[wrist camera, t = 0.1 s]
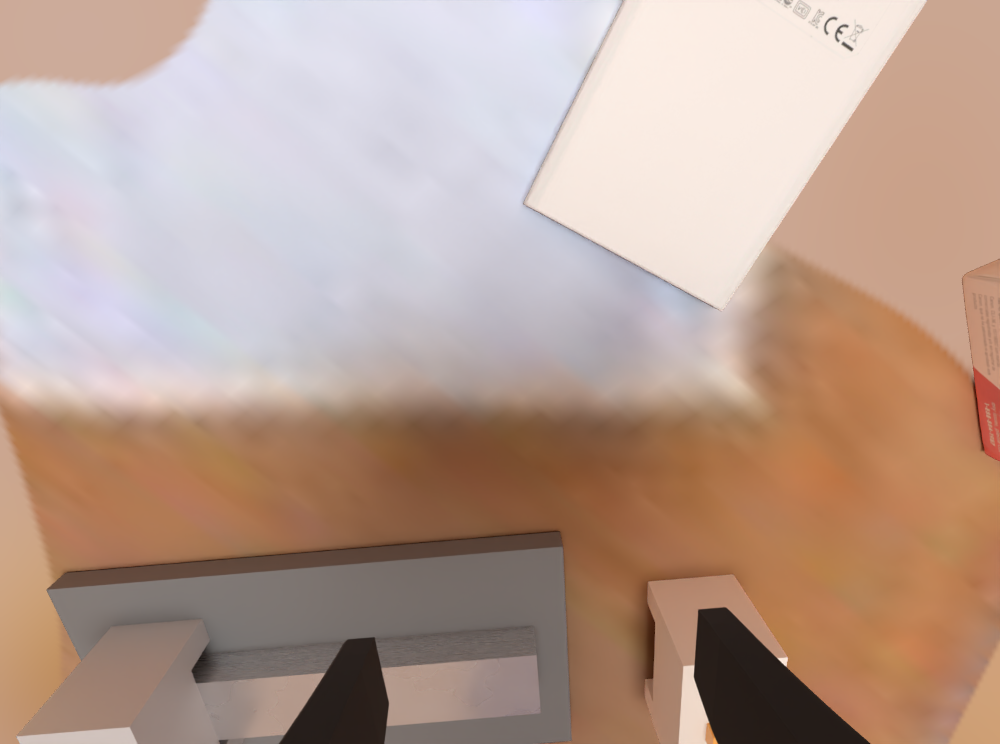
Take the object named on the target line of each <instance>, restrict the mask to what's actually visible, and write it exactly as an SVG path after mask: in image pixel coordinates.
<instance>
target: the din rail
mask: <svg viewBox="0 0 1000 744" xmlns="http://www.w3.org/2000/svg"><path fill="white" fill-rule="evenodd" d="M375 641H376V646H377V650H378V655H379V659H380V664H381V668H382V673H383V678H384V682H385V687H386V691H387V696H388V700H389V709H388V718H387V726H396V725H408V724H420V723H432V722H444V721H456V720H468V719H480V718H492V717H504V716H516V715H528V714H540V713H541V709H540V695H539V681H538V668H537V654H536V645H535V636H534V627H533V626H530V627H518V628H506V629H494V630H482V631H470V632H458V633H446V634H434V635H422V636H410V637H398V638H386V639H375ZM343 644H344V642H339V643H327V644H315V645H303V646H291V647H279V648H267V649H255V650H243V651H231V652H219V653H207V654H201V656H200V657H199V659H198V660H197V662H196V664H195V665H194V667H193V669H192V670H191V671H192V674H193V676H194V679H195V682H196V684H197V687H198V689H199V692H200V694H201V697H202V699H203V702H204V704H205V707H206V709H207V712H208V714H209V717H210V720H211V722H212V725H213V727H214V730H215V732H216V735H217V737H218V740H228V739H240V738H252V737H264V736H276V735H285V734H286V732H287V731H288V729H289V728H290V726H291V725H292V723H293V722H294V721H295V719H296V718H297V716H298V715H299V713H300V712H301V710H302V709H303V707H304V706H305V704H306V703H307V701H308V700H309V698H310V696H311V695H312V693H313V692H314V690H315V689H316V687H317V686H318V684H319V682H320V681H321V679H322V678H323V676H324V674H325V673H326V671H327V670H328V668H329V666H330V665H331V663H332V661H333V660H334V658H335V657H336V655H337V653H338V652H339V650H340V648H341V647H342V645H343Z"/></svg>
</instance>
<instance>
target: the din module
mask: <svg viewBox="0 0 1000 744" xmlns="http://www.w3.org/2000/svg"><path fill="white" fill-rule="evenodd" d="M647 603H648V606H649V608H650V611H651V613H652V616H653V618H654V621H655V650H654V678H653V679H645V699H646V703H647V706H648V709H649V712H650V715H651V718H652V721H653V725H654V728H655V731H656V734H657V737H658V740H659V743H660V744H718V743H717V741H716V739H715V736H714V734H713V732H712V729H711V727H710V724H709V721H708V718H707V715H706V712H705V710H704V707H703V704H702V701H701V698H700V695H699V692H698V689H697V686H696V683H695V680H694V665H695V650H696V635H697V620H698V609H709V608H721V607H726V608H727V609H729V610H730V611H731V612H732V613H733V614H734V615H735V616H736V617H737V618H738V619H739V620H740V621H741V622H742V623H743V624H744V625H745V626H746V627H747V628H748V629H749V630H750V631H751V632H752V634H753V635H754V636H755V637H756V638H757V639H758V640H759V641H760V642H761V643H762V644H763V645H764V646H765V647H766V648H767V649H768V650H769V651H770V652H771V653H773V654H774V655H775V656H776V657H777V658H778V659H779V660H780V661H781V662H782V663H783V664H784V665H785V666H786V665H787V659H788V657H787V655H786V654H785V652H784V651H783V649H782V648H781V646H780V645H779V643H778V642H777V640H776V639H775V637H774V636H773V634H772V633H771V631H770V629H769V628H768V626H767V625H766V623H765V622H764V620H763V619H762V617H761V616H760V614H759V613H758V611H757V610H756V608H755V607H754V605H753V604H752V602H751V600H750V599H749V597H748V596H747V594H746V593H745V591H744V590H743V588H742V587H741V585H740V584H739V582H738V581H737V579H736V578H735V576H734V575H733V574H731V575H719V576H707V577H696V578H684V579H672V580H660V581H648V592H647Z"/></svg>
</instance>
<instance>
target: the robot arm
mask: <svg viewBox="0 0 1000 744" xmlns="http://www.w3.org/2000/svg"><path fill="white" fill-rule="evenodd" d="M694 680H695V683H696V686H697V689H698V692H699V695H700V698H701V701H702V704H703V707H704V710H705V712H706V715H707V718H708V721H709V724H710V727H711V729H712V732H713V734H714V736H715V739H716V741H717V743H718V744H870V743H869V742H868V741H867V740H866V739H865V738H863V737H862V736H861V735H860V734H859V733H858V732H857V731H855V730H854V729H853V728H852V727H851V726H850V725H848V724H847V723H846V722H845V721H844V720H843V719H842V718H841V717H839V716H838V715H837V714H836V713H835V712H834V711H833V710H832V709H831V708H829V707H828V706H827V705H826V704H825V703H824V702H823V701H822V700H821V699H820V698H819V697H818V696H816V695H815V694H814V693H813V692H812V691H811V690H810V689H809V688H808V687H807V686H806V685H805V684H804V683H803V682H801V681H800V680H799V679H798V678H797V677H796V676H795V675H794V674H793V673H792V672H791V671H790V670H789V669H788V668H787V667H786V666H785V665H784V664H783V663H782V662H781V661H780V660H779V659H778V658H777V657H776V656H775V655H774V654H773V653H771V652H770V651H769V650H768V649H767V648H766V647H765V646H764V645H763V644H762V643H761V642H760V641H759V640H758V639H757V638H756V637H755V636H754V635H753V634H752V632H751V631H750V630H749V629H748V628H747V627H746V626H745V625H744V624H743V623H742V622H741V621H740V620H739V619H738V618H737V617H736V616H735V615H734V614H733V613H732V612H731V611H730V610H729V609H727V608H726V607H721V608H709V609H698V620H697V635H696V650H695V665H694ZM388 709H389V700H388V696H387V691H386V687H385V682H384V678H383V673H382V668H381V664H380V659H379V655H378V650H377V646H376V641H375V637H370V638H358V639H347V640H346V641H345V642H344V644H343V645H342V647H341V648H340V650H339V652H338V653H337V655H336V657H335V658H334V660H333V661H332V663H331V665H330V666H329V668H328V670H327V671H326V673H325V674H324V676H323V678H322V679H321V681H320V682H319V684H318V686H317V687H316V689H315V690H314V692H313V693H312V695H311V696H310V698H309V700H308V701H307V703H306V704H305V706H304V707H303V709H302V710H301V712H300V713H299V715H298V716H297V718H296V719H295V721H294V722H293V723H292V725H291V726H290V728H289V729H288V731H287V732H286V734H285V735H284V737H283V738H282V740H281V741H280V743H279V744H384V743H385V735H386V726H387V718H388Z"/></svg>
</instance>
